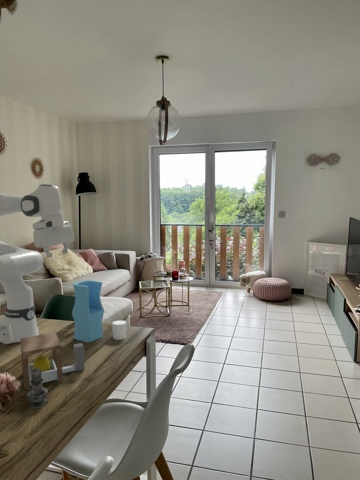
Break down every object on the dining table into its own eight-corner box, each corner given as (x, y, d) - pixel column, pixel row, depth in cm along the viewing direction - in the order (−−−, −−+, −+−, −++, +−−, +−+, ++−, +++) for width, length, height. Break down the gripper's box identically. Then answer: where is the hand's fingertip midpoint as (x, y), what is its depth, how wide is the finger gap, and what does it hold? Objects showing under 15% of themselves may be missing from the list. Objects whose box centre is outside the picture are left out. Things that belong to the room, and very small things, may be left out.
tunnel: (25, 390, 120) (22, 352, 119) (22, 373, 132) (20, 338, 130) (62, 381, 125) (60, 345, 124) (57, 366, 137) (55, 332, 136)
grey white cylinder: (124, 340, 161) (123, 325, 160) (109, 339, 162) (109, 324, 161) (129, 334, 168) (129, 320, 167) (115, 333, 169) (114, 319, 168)
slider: (29, 385, 123) (27, 360, 121) (27, 374, 131) (25, 350, 130) (86, 373, 131) (85, 349, 130) (81, 362, 139) (80, 340, 138)
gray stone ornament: (31, 398, 115) (29, 362, 114) (50, 397, 116) (48, 361, 114) (25, 409, 109) (22, 371, 108) (45, 408, 110) (43, 370, 108)
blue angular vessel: (89, 342, 159) (86, 286, 156) (73, 338, 164) (70, 284, 161) (104, 335, 167) (102, 282, 164) (89, 331, 172) (87, 279, 169)
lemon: (34, 382, 125) (33, 360, 124) (33, 376, 130) (31, 354, 129) (51, 379, 128) (50, 357, 127) (49, 372, 132) (48, 351, 131)
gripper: (64, 221, 163) (68, 252, 164) (29, 225, 144) (33, 259, 145) (75, 220, 160) (79, 251, 161) (41, 224, 142) (45, 259, 143)
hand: (57, 255), depth 153 cm, fingers open, 8 cm apart
